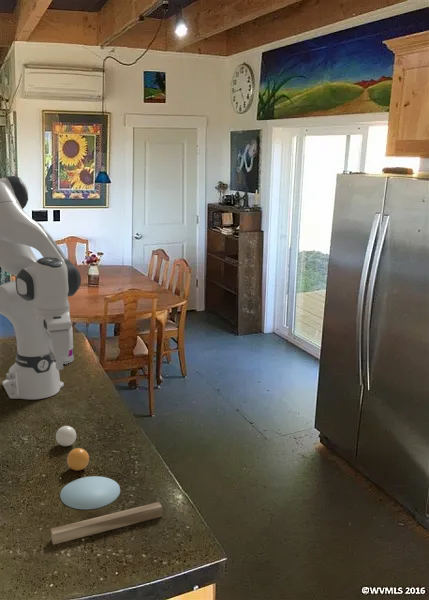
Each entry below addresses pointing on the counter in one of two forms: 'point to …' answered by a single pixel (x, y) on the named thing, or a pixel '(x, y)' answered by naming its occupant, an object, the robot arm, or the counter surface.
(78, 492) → the blue mark
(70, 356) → the supplement can
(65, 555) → the counter surface
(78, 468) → the orange ball
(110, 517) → the wooden stop rail
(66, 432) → the ivory ball
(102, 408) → the counter surface
